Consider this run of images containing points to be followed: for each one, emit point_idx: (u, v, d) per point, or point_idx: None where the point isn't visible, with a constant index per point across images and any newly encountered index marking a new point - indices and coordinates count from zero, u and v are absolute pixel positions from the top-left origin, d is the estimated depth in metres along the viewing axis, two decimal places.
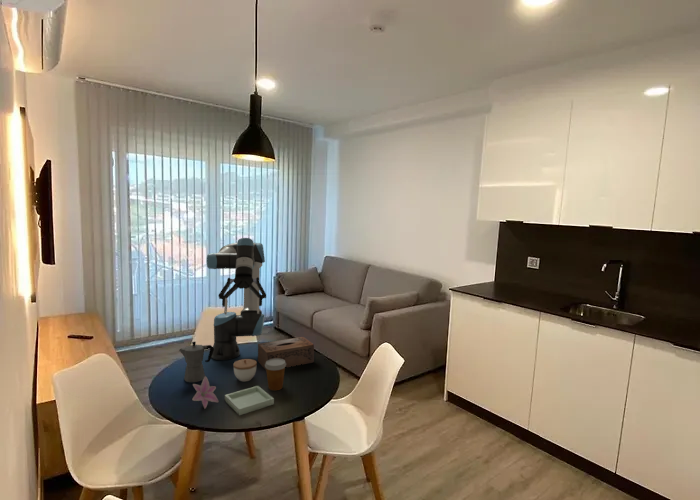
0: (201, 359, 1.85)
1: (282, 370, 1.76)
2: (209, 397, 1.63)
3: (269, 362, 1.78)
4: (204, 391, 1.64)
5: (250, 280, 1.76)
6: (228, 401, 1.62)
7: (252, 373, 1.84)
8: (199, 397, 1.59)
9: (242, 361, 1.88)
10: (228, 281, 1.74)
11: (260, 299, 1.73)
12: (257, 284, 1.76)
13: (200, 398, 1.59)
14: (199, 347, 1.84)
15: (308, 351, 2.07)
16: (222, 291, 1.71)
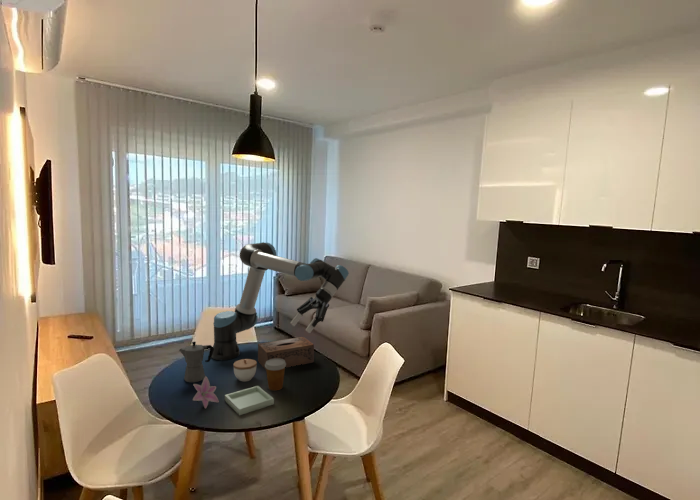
0: (201, 359, 1.85)
1: (282, 370, 1.76)
2: (210, 397, 1.63)
3: (269, 362, 1.78)
4: (204, 391, 1.64)
5: None
6: (228, 401, 1.62)
7: (252, 373, 1.84)
8: (199, 397, 1.59)
9: (242, 361, 1.88)
10: None
11: None
12: None
13: (200, 398, 1.59)
14: (199, 347, 1.84)
15: (308, 351, 2.07)
16: None
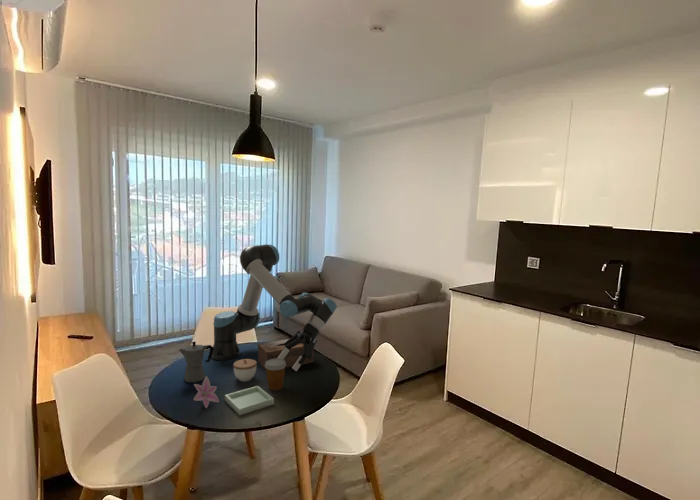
0: (201, 359, 1.85)
1: (282, 370, 1.76)
2: (210, 397, 1.63)
3: (269, 362, 1.78)
4: (205, 391, 1.64)
5: None
6: (228, 401, 1.62)
7: (252, 373, 1.84)
8: (200, 397, 1.59)
9: (242, 361, 1.88)
10: None
11: None
12: (297, 338, 1.90)
13: (201, 398, 1.59)
14: (199, 347, 1.84)
15: None
16: None
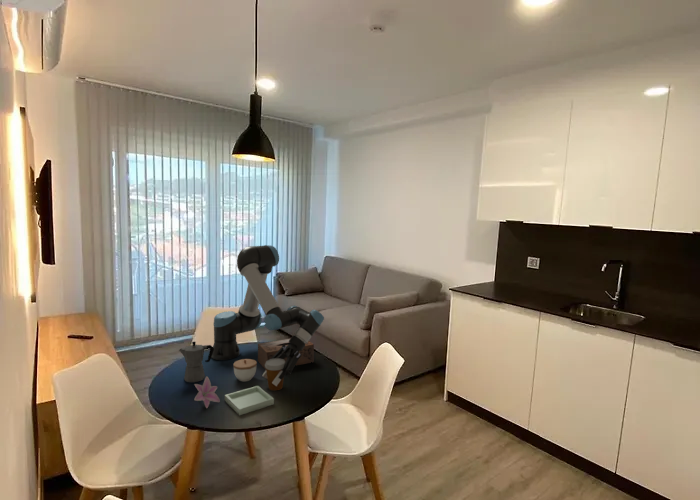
0: (201, 359, 1.85)
1: None
2: (211, 397, 1.63)
3: (269, 362, 1.78)
4: (206, 391, 1.64)
5: None
6: (228, 401, 1.62)
7: (252, 373, 1.84)
8: (201, 397, 1.59)
9: (242, 361, 1.88)
10: None
11: None
12: None
13: (202, 398, 1.59)
14: (199, 347, 1.84)
15: (308, 351, 2.07)
16: None
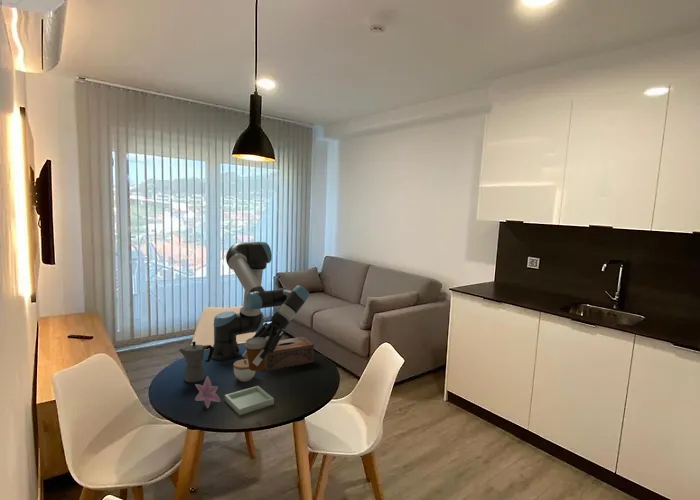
0: (201, 359, 1.85)
1: None
2: (211, 397, 1.63)
3: (250, 341, 1.64)
4: (206, 391, 1.64)
5: None
6: (228, 401, 1.62)
7: (252, 373, 1.84)
8: (202, 397, 1.59)
9: (242, 361, 1.88)
10: None
11: None
12: None
13: (203, 398, 1.59)
14: (199, 347, 1.84)
15: (308, 351, 2.07)
16: None
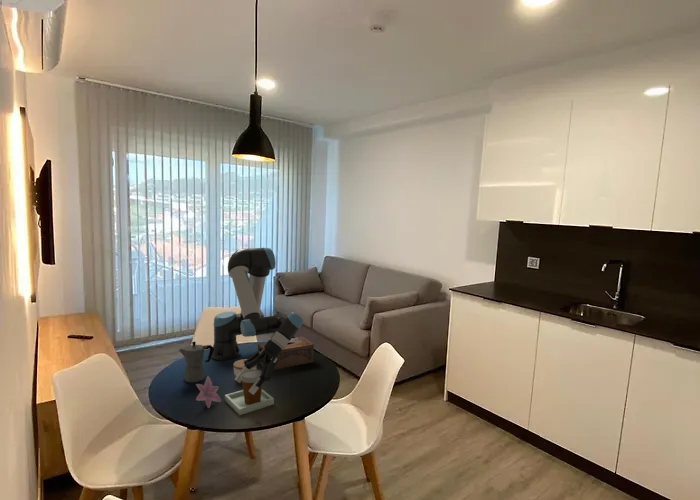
0: (201, 359, 1.85)
1: None
2: (212, 397, 1.63)
3: (245, 374, 1.62)
4: (207, 391, 1.64)
5: None
6: (228, 401, 1.62)
7: None
8: (203, 397, 1.59)
9: (242, 361, 1.88)
10: None
11: None
12: None
13: (204, 398, 1.59)
14: (199, 347, 1.84)
15: (308, 351, 2.07)
16: None
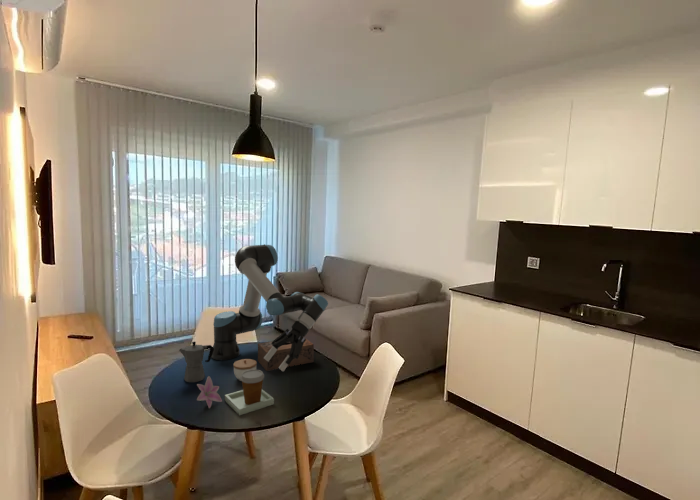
0: (201, 359, 1.85)
1: (259, 383, 1.60)
2: (213, 397, 1.63)
3: (245, 374, 1.62)
4: (208, 391, 1.64)
5: None
6: (228, 401, 1.62)
7: None
8: (203, 397, 1.59)
9: (242, 361, 1.88)
10: None
11: None
12: None
13: (204, 398, 1.59)
14: (199, 347, 1.84)
15: (308, 351, 2.08)
16: None
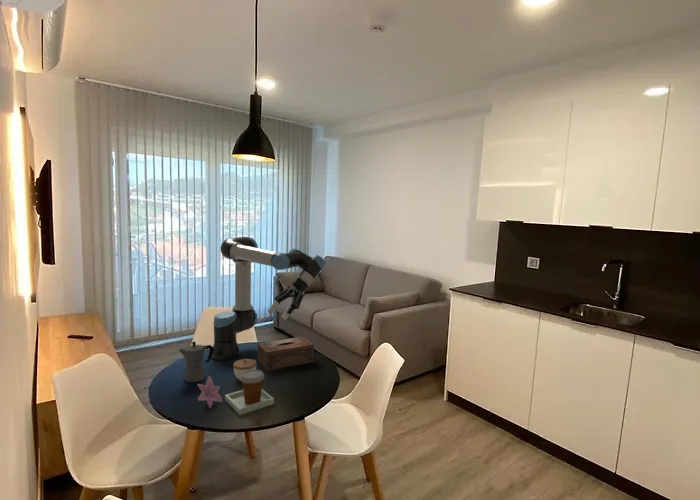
0: (201, 359, 1.85)
1: (259, 383, 1.60)
2: (214, 397, 1.63)
3: (245, 374, 1.62)
4: (208, 391, 1.64)
5: None
6: (228, 401, 1.62)
7: None
8: (204, 397, 1.59)
9: (242, 361, 1.88)
10: None
11: None
12: None
13: (205, 398, 1.59)
14: (199, 347, 1.84)
15: (308, 351, 2.08)
16: None
